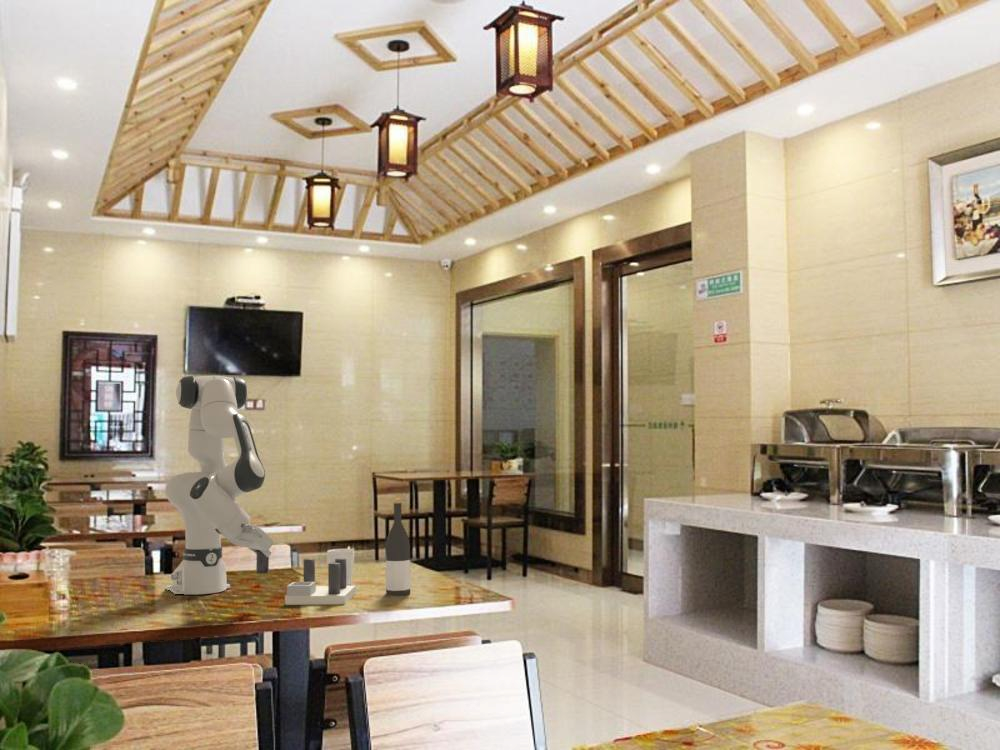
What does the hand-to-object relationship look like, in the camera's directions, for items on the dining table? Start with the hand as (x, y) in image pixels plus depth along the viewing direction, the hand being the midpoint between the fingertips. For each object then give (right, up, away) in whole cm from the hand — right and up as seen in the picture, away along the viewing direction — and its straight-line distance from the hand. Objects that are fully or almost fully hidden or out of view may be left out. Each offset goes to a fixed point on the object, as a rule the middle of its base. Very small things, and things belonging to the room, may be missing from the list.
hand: (264, 554), depth 271 cm
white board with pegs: (+14, -16, +12) cm, 25 cm away
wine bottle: (+37, -17, +20) cm, 46 cm away
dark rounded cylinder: (0, -5, -1) cm, 5 cm away
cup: (+16, -18, +35) cm, 42 cm away
